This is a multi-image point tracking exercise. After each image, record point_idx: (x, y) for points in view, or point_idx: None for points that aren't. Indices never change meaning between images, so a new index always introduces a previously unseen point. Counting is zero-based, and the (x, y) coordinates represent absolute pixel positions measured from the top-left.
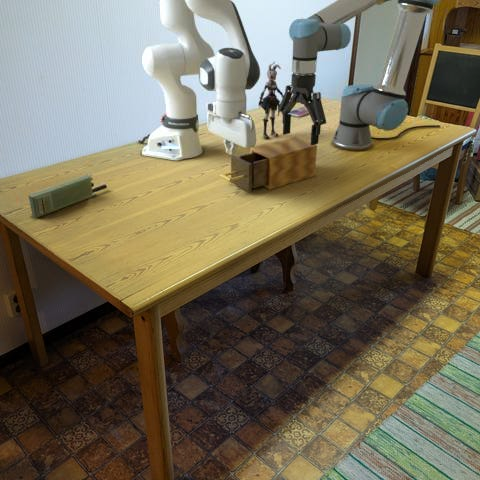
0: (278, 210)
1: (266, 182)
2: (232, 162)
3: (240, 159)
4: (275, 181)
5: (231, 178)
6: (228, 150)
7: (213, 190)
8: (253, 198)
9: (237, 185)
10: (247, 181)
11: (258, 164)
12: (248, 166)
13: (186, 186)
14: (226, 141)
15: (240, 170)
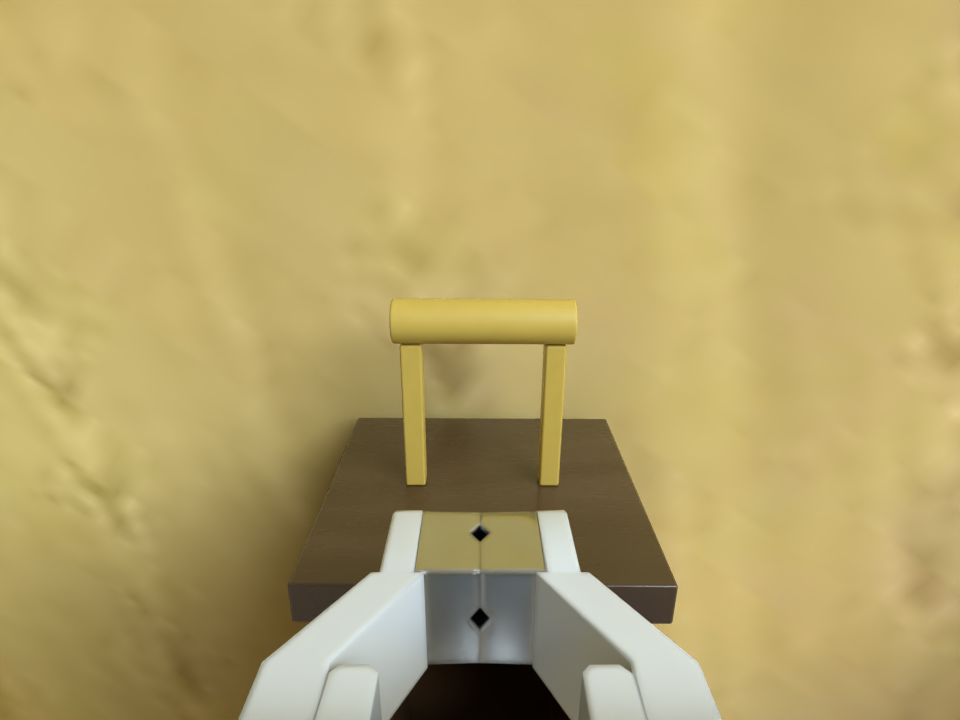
0: (15, 415)
1: None
2: (627, 536)
3: None
4: None
5: (393, 336)
6: (487, 549)
7: (606, 226)
8: (285, 397)
9: (511, 419)
10: (359, 462)
11: None
12: (304, 566)
13: (858, 58)
14: (583, 698)
15: (468, 506)
